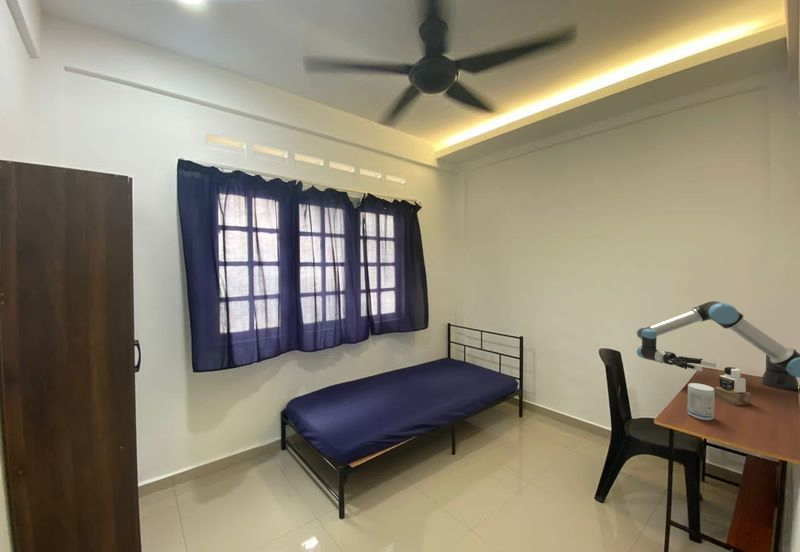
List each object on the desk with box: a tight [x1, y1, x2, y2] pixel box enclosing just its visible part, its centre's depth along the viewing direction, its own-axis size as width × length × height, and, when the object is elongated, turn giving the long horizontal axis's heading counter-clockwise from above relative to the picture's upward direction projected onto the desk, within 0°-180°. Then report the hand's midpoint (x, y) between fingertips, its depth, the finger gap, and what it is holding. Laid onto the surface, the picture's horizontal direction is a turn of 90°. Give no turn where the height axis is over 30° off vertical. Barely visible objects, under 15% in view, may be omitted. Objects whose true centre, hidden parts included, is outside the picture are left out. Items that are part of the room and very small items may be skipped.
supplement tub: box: [686, 382, 715, 421], centre depth 157 cm, size 10×10×15 cm
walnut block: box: [713, 386, 752, 406], centre depth 175 cm, size 10×10×6 cm
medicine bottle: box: [719, 366, 747, 393], centre depth 174 cm, size 7×7×12 cm
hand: (708, 367), depth 183 cm, fingers open, 13 cm apart
